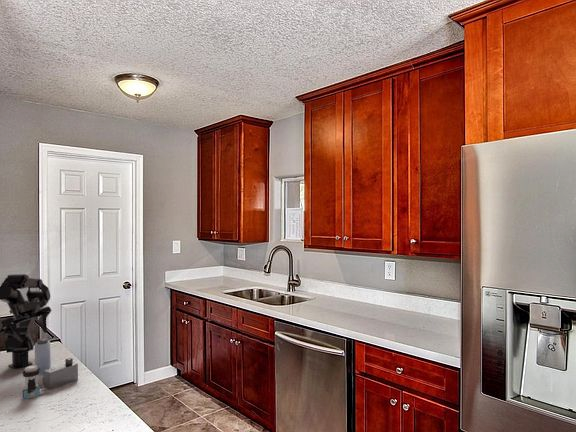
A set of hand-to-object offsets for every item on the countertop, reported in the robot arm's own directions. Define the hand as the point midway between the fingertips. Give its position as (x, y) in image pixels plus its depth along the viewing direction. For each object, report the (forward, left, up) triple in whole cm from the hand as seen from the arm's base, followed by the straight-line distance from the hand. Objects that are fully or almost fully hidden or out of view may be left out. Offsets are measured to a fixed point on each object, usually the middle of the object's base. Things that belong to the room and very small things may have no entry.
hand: (34, 336), depth 165 cm
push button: (+21, -11, -15) cm, 28 cm away
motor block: (+16, 0, -14) cm, 22 cm away
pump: (+6, 0, -14) cm, 16 cm away
